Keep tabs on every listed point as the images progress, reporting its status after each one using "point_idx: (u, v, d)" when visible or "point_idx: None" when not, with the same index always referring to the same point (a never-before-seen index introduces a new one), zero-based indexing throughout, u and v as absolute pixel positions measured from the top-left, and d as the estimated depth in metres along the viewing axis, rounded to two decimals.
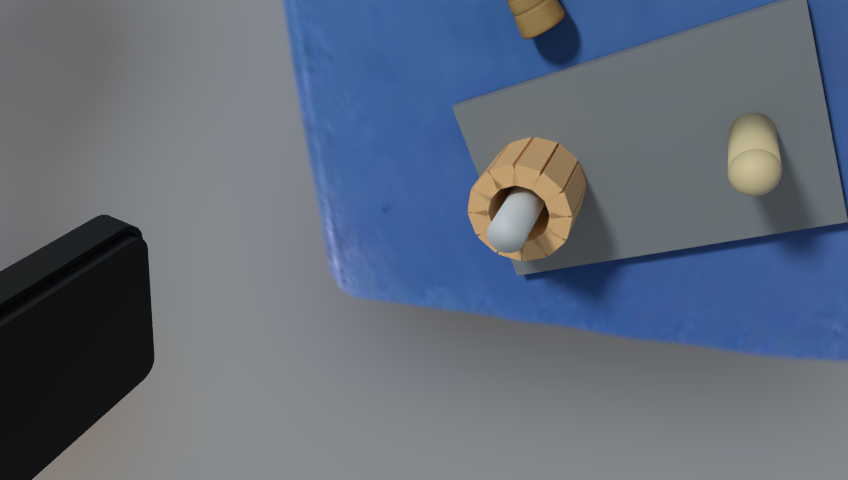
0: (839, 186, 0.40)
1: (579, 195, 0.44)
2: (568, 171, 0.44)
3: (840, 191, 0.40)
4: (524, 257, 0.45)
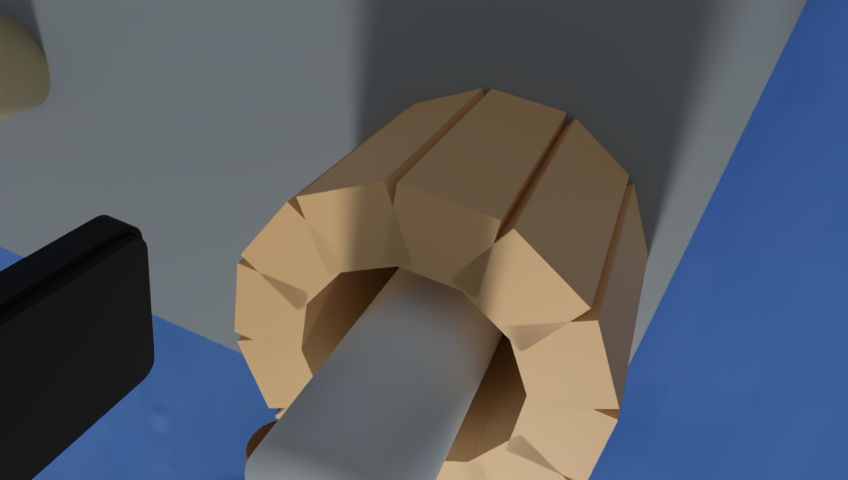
0: None
1: None
2: None
3: None
4: (484, 231, 0.10)
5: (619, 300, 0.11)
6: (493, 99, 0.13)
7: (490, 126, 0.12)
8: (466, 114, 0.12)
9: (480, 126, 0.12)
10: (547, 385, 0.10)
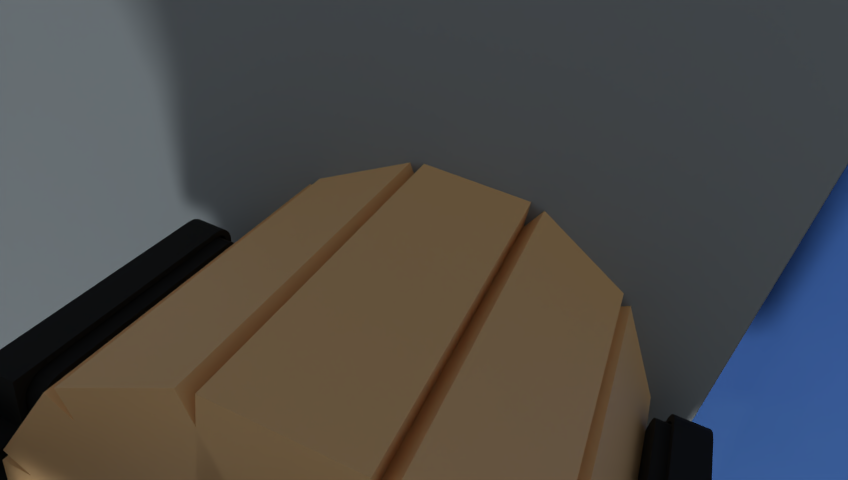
0: None
1: None
2: None
3: None
4: None
5: None
6: (421, 184, 0.09)
7: (404, 240, 0.08)
8: (372, 216, 0.08)
9: (387, 241, 0.08)
10: None
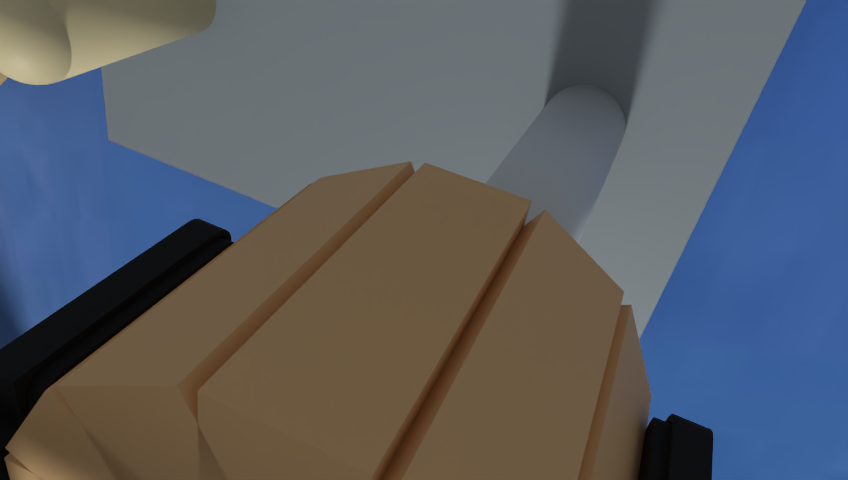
0: None
1: None
2: None
3: None
4: None
5: None
6: (421, 183, 0.09)
7: (405, 238, 0.08)
8: (373, 215, 0.08)
9: (389, 239, 0.08)
10: None
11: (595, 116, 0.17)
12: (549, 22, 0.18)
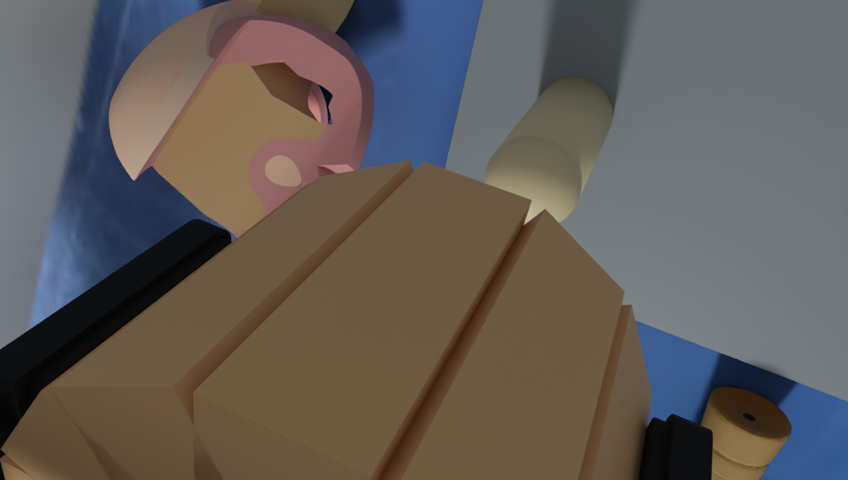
0: None
1: None
2: None
3: None
4: None
5: None
6: (420, 182, 0.09)
7: (404, 238, 0.08)
8: (371, 214, 0.08)
9: (387, 239, 0.08)
10: None
11: None
12: None
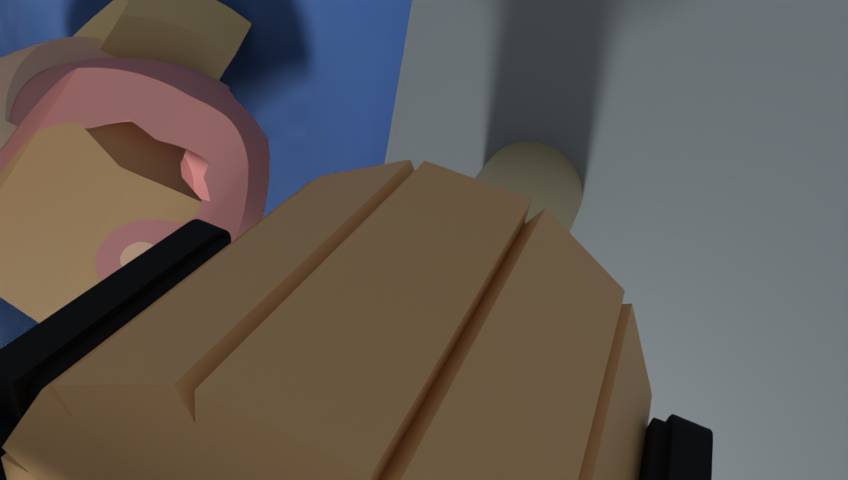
0: None
1: None
2: None
3: None
4: None
5: None
6: (421, 181, 0.09)
7: (405, 236, 0.08)
8: (372, 213, 0.08)
9: (388, 238, 0.08)
10: None
11: None
12: None
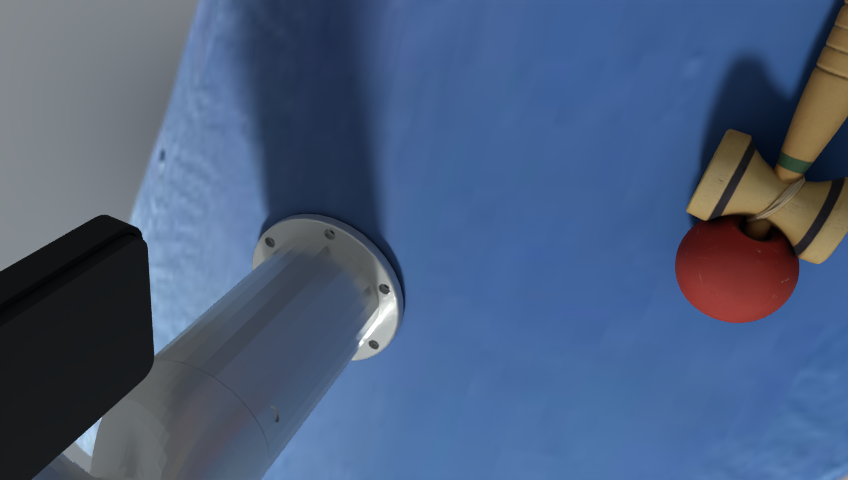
0: None
1: None
2: None
3: None
4: None
5: None
6: None
7: None
8: None
9: None
10: None
11: None
12: None
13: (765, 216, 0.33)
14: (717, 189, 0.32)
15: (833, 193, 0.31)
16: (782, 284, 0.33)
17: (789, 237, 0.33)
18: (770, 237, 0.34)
